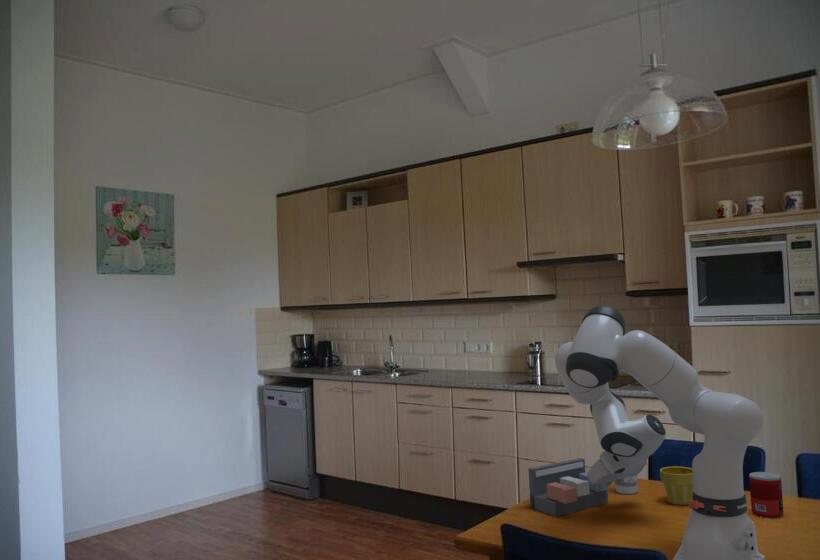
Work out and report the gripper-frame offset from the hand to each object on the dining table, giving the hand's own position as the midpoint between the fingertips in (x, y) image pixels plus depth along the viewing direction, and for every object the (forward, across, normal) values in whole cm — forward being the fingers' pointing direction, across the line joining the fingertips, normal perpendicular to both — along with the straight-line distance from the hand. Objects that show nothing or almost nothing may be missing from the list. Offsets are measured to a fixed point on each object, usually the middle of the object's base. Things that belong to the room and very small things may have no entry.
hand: (604, 484), depth 201 cm
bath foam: (+9, -17, 0) cm, 19 cm away
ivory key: (+5, +8, -2) cm, 10 cm away
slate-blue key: (+5, 0, -2) cm, 5 cm away
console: (+10, +8, -1) cm, 13 cm away
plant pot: (-3, -20, +13) cm, 24 cm away
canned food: (-19, -28, +29) cm, 45 cm away
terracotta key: (+3, +16, 0) cm, 16 cm away
